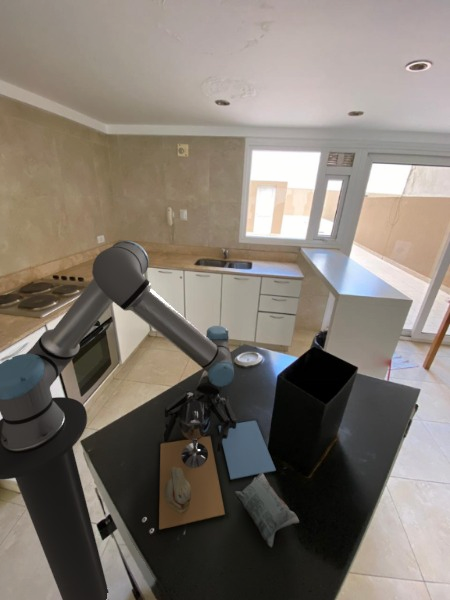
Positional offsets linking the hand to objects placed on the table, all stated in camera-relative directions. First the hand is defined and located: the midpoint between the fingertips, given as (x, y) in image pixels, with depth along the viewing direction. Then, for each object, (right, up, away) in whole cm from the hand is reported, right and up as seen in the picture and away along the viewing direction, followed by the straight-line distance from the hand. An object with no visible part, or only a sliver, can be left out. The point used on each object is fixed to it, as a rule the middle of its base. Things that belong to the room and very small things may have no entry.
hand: (191, 442), depth 62 cm
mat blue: (+14, -6, +9) cm, 17 cm away
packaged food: (+17, -12, -6) cm, 22 cm away
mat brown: (-1, -9, +1) cm, 9 cm away
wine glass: (0, -7, +6) cm, 9 cm away
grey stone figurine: (-3, -10, -4) cm, 12 cm away
